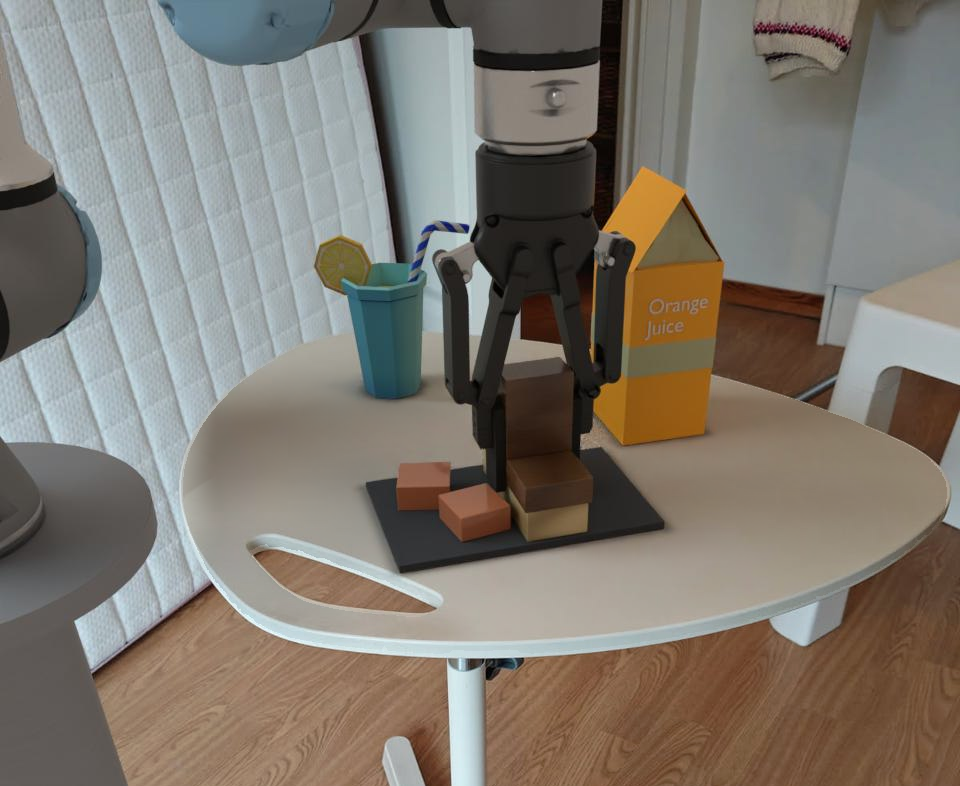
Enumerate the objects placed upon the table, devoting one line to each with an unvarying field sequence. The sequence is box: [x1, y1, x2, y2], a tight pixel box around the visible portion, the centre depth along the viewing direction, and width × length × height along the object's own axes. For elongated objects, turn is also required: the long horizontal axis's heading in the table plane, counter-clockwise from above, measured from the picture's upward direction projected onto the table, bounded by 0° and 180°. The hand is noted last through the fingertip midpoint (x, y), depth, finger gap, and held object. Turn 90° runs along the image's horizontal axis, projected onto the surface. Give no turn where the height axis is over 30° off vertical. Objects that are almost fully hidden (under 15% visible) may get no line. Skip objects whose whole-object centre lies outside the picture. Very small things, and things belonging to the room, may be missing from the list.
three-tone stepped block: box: [482, 356, 593, 542], centre depth 74 cm, size 5×12×10 cm, turn 16°
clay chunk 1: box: [396, 461, 452, 511], centre depth 78 cm, size 4×4×2 cm
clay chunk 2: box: [438, 483, 511, 542], centre depth 74 cm, size 4×4×2 cm
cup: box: [313, 219, 471, 400], centre depth 93 cm, size 14×8×15 cm, turn 101°
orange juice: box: [590, 165, 725, 446], centre depth 84 cm, size 8×9×20 cm
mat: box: [365, 446, 666, 574], centre depth 78 cm, size 20×13×1 cm, turn 105°
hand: (532, 477), depth 76 cm, fingers closed on three-tone stepped block, 5 cm apart
